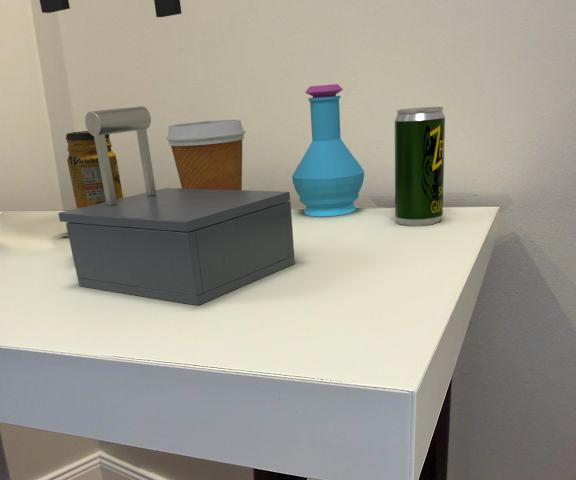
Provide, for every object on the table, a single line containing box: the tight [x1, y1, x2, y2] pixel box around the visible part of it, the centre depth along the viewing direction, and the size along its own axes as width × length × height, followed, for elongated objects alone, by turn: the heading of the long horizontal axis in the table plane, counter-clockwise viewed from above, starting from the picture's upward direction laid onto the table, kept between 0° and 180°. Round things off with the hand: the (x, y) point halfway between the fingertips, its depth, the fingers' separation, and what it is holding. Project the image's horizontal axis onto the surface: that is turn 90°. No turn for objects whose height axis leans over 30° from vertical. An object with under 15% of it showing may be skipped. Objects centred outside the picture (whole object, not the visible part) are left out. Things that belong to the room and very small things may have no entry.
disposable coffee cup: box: [165, 119, 246, 190], centre depth 80 cm, size 10×10×12 cm
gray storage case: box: [65, 200, 296, 306], centre depth 60 cm, size 15×14×6 cm
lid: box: [57, 105, 291, 232], centre depth 57 cm, size 16×14×9 cm
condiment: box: [59, 130, 124, 237], centre depth 83 cm, size 7×8×12 cm
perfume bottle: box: [291, 83, 365, 217], centre depth 82 cm, size 9×9×15 cm
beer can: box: [394, 106, 446, 227], centre depth 73 cm, size 5×5×12 cm
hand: (117, 13), depth 60 cm, fingers open, 13 cm apart
